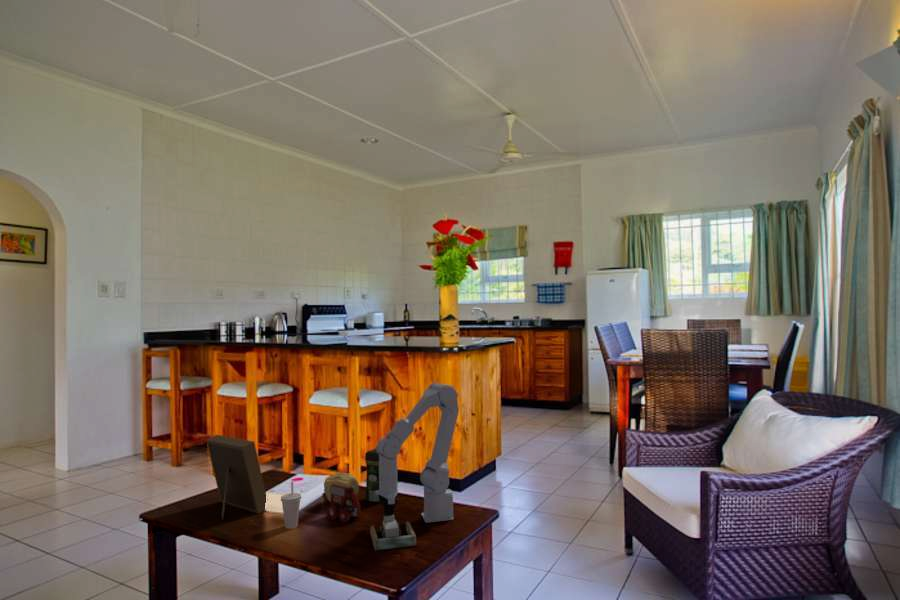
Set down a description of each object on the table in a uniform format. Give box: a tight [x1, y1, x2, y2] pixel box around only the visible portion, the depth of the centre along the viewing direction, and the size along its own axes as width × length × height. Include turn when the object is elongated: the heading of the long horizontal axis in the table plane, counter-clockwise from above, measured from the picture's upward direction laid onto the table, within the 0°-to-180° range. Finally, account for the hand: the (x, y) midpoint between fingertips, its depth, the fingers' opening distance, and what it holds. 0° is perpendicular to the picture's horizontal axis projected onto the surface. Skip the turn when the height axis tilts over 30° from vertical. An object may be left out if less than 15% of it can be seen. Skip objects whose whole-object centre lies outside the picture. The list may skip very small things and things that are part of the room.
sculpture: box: [323, 472, 360, 503], centre depth 192 cm, size 11×12×11 cm
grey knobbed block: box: [379, 514, 402, 538], centre depth 162 cm, size 6×7×4 cm
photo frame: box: [205, 434, 267, 520], centre depth 185 cm, size 15×22×25 cm
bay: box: [370, 521, 417, 551], centre depth 159 cm, size 12×12×2 cm
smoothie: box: [280, 481, 302, 530], centre depth 170 cm, size 6×6×14 cm
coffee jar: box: [364, 448, 381, 504], centre depth 195 cm, size 10×8×19 cm
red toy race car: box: [326, 484, 362, 523], centre depth 177 cm, size 7×12×10 cm, turn 59°
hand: (388, 519), depth 167 cm, fingers closed
